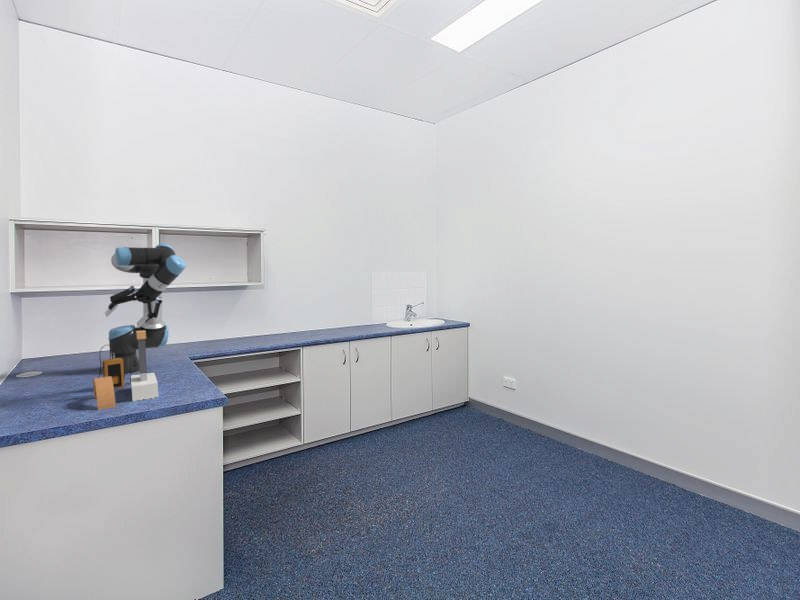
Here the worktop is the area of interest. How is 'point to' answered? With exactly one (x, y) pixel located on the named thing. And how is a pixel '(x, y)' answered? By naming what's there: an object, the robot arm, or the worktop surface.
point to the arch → (104, 392)
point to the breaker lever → (142, 351)
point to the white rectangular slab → (144, 386)
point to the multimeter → (115, 369)
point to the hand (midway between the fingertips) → (122, 320)
